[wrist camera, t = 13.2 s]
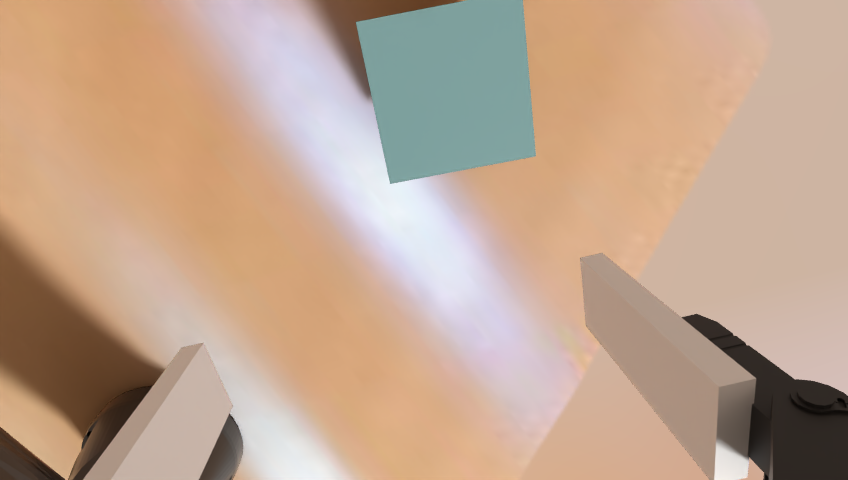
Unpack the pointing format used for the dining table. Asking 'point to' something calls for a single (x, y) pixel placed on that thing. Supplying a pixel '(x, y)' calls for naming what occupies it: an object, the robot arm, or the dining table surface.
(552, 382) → the dining table surface
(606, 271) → the robot arm
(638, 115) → the dining table surface
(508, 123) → the seafoam cube
